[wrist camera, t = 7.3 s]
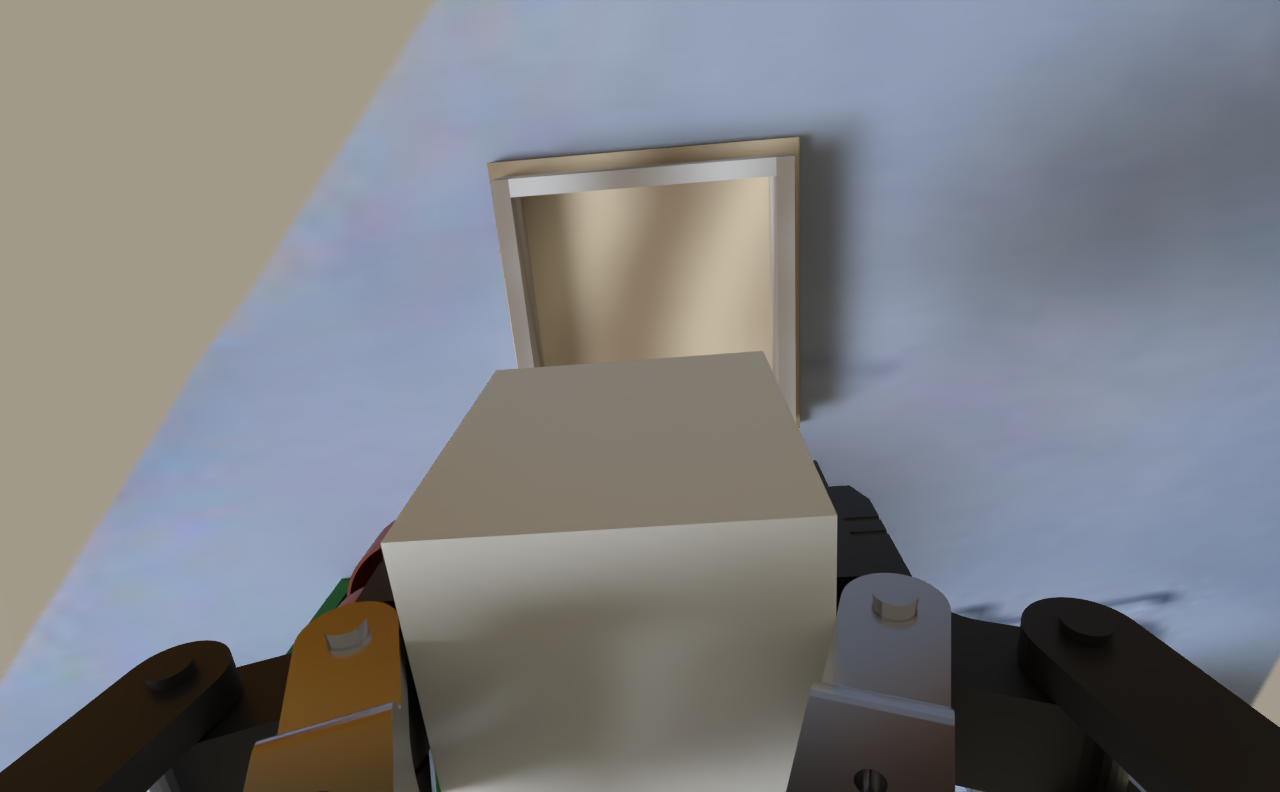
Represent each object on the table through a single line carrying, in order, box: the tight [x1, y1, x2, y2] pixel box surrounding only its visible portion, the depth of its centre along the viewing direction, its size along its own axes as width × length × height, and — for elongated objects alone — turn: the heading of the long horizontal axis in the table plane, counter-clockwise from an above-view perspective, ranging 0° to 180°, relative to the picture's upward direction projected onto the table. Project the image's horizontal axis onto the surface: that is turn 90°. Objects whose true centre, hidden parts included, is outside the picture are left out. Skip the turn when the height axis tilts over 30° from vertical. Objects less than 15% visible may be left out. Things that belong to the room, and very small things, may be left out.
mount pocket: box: [487, 137, 800, 428], centre depth 27 cm, size 11×11×3 cm
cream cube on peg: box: [381, 351, 837, 792], centre depth 12 cm, size 5×7×6 cm
